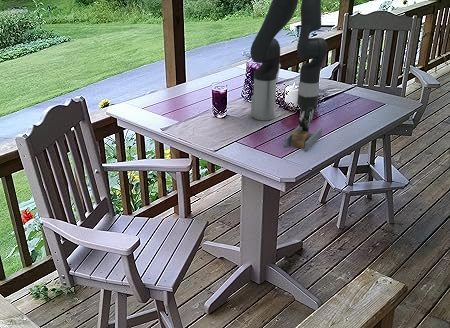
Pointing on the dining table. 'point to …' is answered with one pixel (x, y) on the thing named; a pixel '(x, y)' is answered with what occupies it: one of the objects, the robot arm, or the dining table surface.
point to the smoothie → (277, 74)
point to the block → (299, 138)
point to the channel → (309, 142)
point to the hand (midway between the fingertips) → (304, 135)
